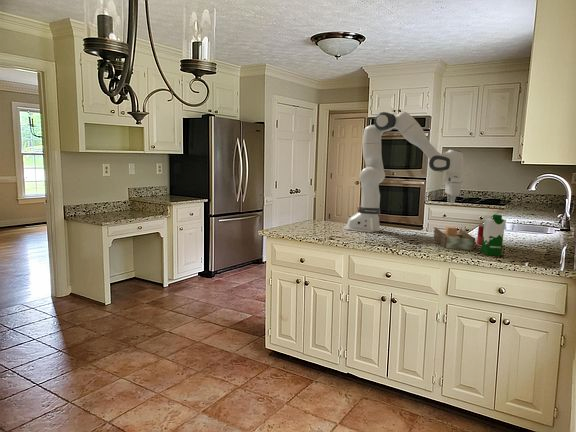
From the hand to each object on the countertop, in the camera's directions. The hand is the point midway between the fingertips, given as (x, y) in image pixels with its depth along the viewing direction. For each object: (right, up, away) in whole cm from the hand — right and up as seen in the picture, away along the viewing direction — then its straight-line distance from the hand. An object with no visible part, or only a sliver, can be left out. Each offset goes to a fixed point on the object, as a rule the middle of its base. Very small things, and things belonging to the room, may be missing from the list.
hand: (450, 202), depth 249 cm
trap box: (-3, -23, -10) cm, 25 cm away
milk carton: (+8, -27, -32) cm, 43 cm away
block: (-2, -18, -5) cm, 19 cm away
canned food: (+15, -24, -9) cm, 30 cm away
